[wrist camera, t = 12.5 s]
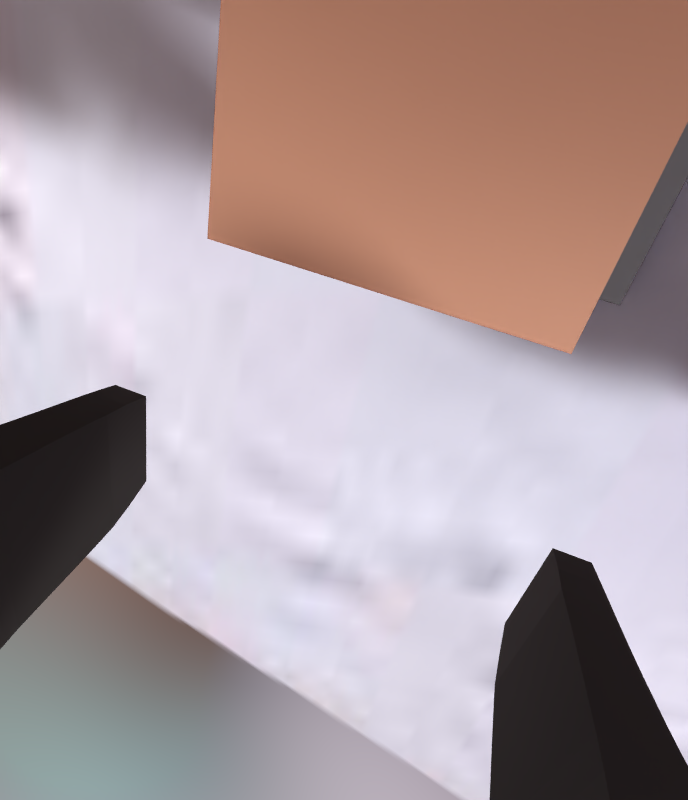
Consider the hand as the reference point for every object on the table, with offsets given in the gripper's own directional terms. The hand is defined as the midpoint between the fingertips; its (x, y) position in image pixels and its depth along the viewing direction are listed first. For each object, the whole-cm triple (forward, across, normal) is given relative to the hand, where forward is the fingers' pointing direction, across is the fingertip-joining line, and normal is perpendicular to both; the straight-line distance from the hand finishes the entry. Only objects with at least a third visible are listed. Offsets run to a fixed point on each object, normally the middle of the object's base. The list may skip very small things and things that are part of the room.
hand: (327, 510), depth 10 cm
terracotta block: (+4, 0, -7) cm, 8 cm away
